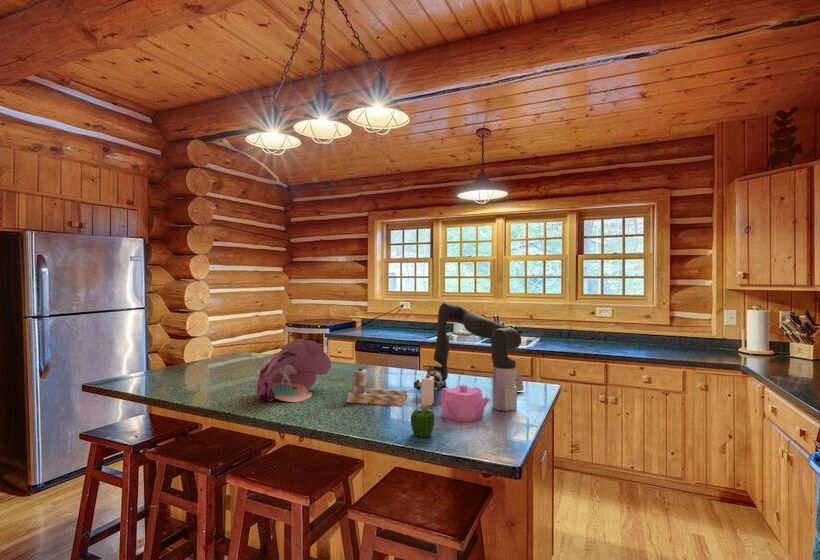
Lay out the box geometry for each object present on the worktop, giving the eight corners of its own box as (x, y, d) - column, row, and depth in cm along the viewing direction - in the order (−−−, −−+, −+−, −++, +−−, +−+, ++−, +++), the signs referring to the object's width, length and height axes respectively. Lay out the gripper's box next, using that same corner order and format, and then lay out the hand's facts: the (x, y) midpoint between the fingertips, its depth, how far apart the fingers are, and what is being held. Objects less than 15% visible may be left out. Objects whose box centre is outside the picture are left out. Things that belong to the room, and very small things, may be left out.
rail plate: (407, 398, 192) (407, 367, 192) (402, 405, 180) (402, 373, 180) (355, 394, 196) (356, 365, 197) (347, 402, 185) (347, 370, 185)
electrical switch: (508, 394, 201) (507, 374, 202) (501, 392, 205) (500, 373, 206) (524, 392, 205) (523, 372, 206) (517, 391, 209) (516, 371, 210)
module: (433, 401, 187) (434, 374, 187) (431, 405, 181) (432, 377, 181) (423, 401, 188) (423, 373, 188) (421, 405, 182) (421, 376, 182)
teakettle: (478, 410, 176) (478, 380, 176) (490, 424, 159) (491, 390, 159) (437, 411, 174) (437, 380, 174) (445, 425, 157) (446, 391, 157)
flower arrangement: (286, 420, 175) (295, 354, 170) (238, 403, 181) (246, 340, 177) (328, 391, 208) (336, 335, 204) (286, 377, 214) (293, 323, 210)
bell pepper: (414, 440, 141) (414, 410, 141) (407, 432, 149) (408, 403, 149) (438, 438, 143) (438, 408, 143) (430, 430, 151) (431, 401, 151)
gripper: (418, 371, 202) (411, 379, 186) (448, 373, 200) (444, 381, 184) (417, 387, 202) (411, 396, 186) (448, 389, 200) (444, 398, 184)
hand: (428, 388), depth 185 cm, fingers open, 8 cm apart
